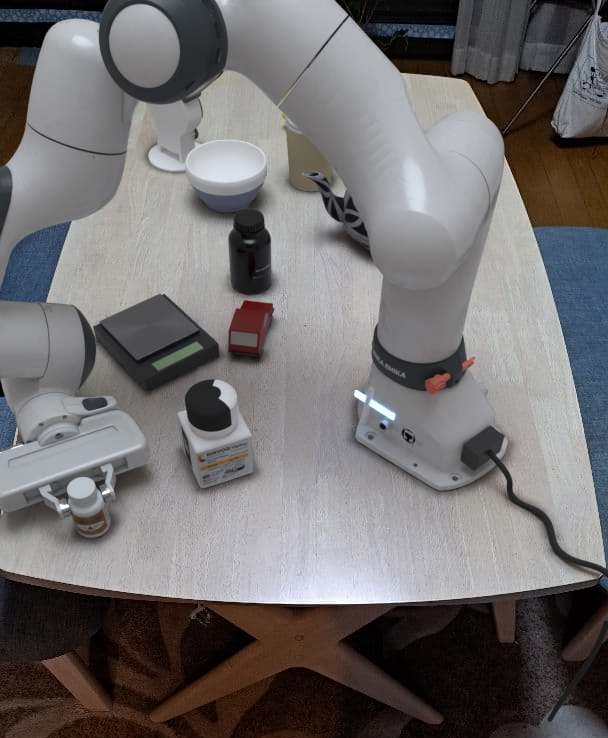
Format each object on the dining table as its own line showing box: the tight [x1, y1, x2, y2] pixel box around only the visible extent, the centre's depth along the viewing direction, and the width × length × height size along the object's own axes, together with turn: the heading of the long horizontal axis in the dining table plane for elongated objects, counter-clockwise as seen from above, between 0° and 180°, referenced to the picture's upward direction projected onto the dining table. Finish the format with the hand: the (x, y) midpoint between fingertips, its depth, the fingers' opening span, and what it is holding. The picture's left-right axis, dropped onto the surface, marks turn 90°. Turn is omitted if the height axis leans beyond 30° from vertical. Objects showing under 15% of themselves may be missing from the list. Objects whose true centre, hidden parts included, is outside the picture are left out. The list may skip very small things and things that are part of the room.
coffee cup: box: [284, 117, 333, 193], centre depth 147 cm, size 9×9×12 cm
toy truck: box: [227, 299, 275, 359], centre depth 124 cm, size 6×12×5 cm, turn 170°
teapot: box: [302, 172, 370, 251], centre depth 136 cm, size 19×31×15 cm, turn 94°
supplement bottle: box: [227, 208, 272, 295], centre depth 129 cm, size 7×7×12 cm
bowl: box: [185, 138, 268, 213], centre depth 145 cm, size 14×14×8 cm
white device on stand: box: [146, 92, 204, 173], centre depth 150 cm, size 12×11×15 cm
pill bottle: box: [66, 477, 111, 539], centre depth 101 cm, size 4×4×8 cm
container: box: [176, 378, 255, 489], centre depth 106 cm, size 8×8×13 cm
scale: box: [92, 293, 221, 393], centre depth 123 cm, size 15×13×3 cm
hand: (88, 506), depth 100 cm, fingers closed on pill bottle, 4 cm apart
